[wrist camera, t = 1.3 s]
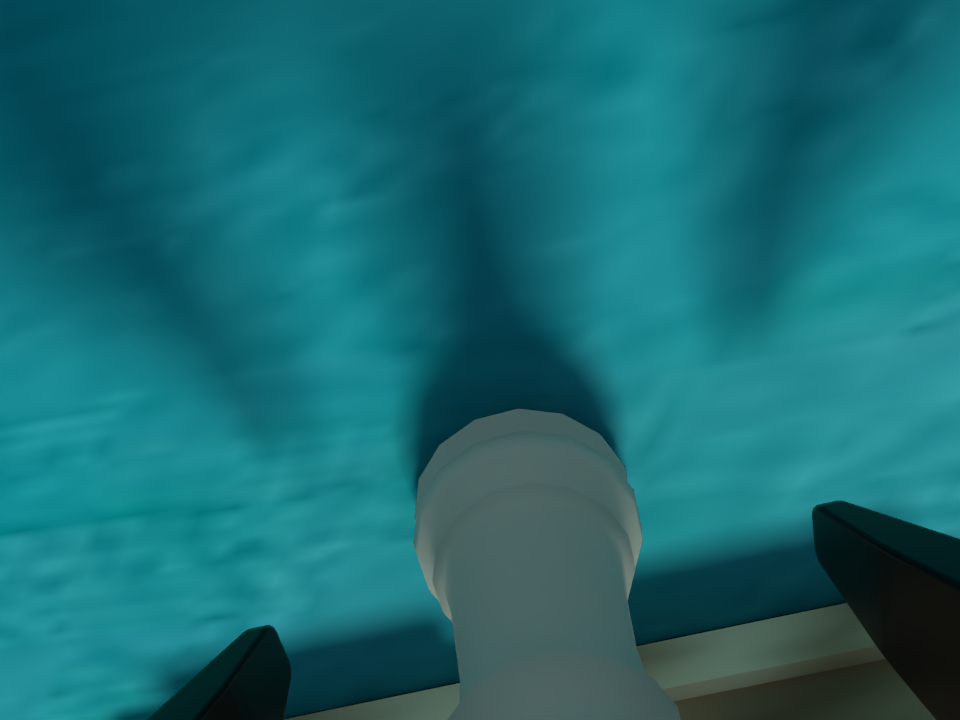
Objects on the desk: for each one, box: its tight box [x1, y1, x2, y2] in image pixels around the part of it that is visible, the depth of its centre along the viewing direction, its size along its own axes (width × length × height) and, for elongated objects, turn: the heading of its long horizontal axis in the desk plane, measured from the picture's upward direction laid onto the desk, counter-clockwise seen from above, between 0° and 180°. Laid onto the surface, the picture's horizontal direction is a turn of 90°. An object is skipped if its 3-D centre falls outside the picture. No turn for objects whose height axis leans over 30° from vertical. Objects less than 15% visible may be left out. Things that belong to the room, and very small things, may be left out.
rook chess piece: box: [414, 409, 681, 720], centre depth 8 cm, size 4×4×8 cm
